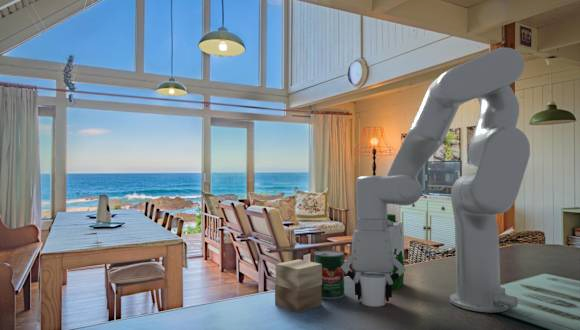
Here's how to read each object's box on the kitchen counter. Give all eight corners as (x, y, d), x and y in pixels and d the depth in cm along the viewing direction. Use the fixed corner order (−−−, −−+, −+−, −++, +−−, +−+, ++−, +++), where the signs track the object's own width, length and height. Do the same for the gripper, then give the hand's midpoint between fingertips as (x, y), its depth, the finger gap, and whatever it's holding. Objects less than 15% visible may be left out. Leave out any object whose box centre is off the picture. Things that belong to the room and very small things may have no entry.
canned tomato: (332, 288, 104) (332, 249, 105) (350, 296, 97) (350, 253, 98) (308, 293, 100) (308, 251, 101) (325, 301, 93) (325, 256, 94)
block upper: (322, 284, 91) (321, 264, 91) (298, 291, 85) (298, 269, 85) (299, 278, 96) (299, 259, 97) (275, 284, 91) (275, 263, 91)
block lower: (321, 305, 90) (321, 284, 91) (297, 313, 85) (297, 291, 85) (298, 298, 96) (298, 278, 97) (275, 305, 91) (275, 284, 91)
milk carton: (406, 283, 109) (405, 214, 110) (400, 291, 101) (399, 217, 102) (377, 279, 113) (375, 213, 114) (368, 287, 105) (367, 216, 106)
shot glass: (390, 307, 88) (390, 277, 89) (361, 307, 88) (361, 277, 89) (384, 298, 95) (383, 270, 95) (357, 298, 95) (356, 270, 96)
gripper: (406, 224, 94) (408, 296, 94) (338, 223, 98) (339, 292, 97) (409, 227, 87) (411, 306, 86) (335, 226, 91) (336, 301, 90)
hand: (373, 298), depth 92 cm, fingers closed on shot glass, 6 cm apart
